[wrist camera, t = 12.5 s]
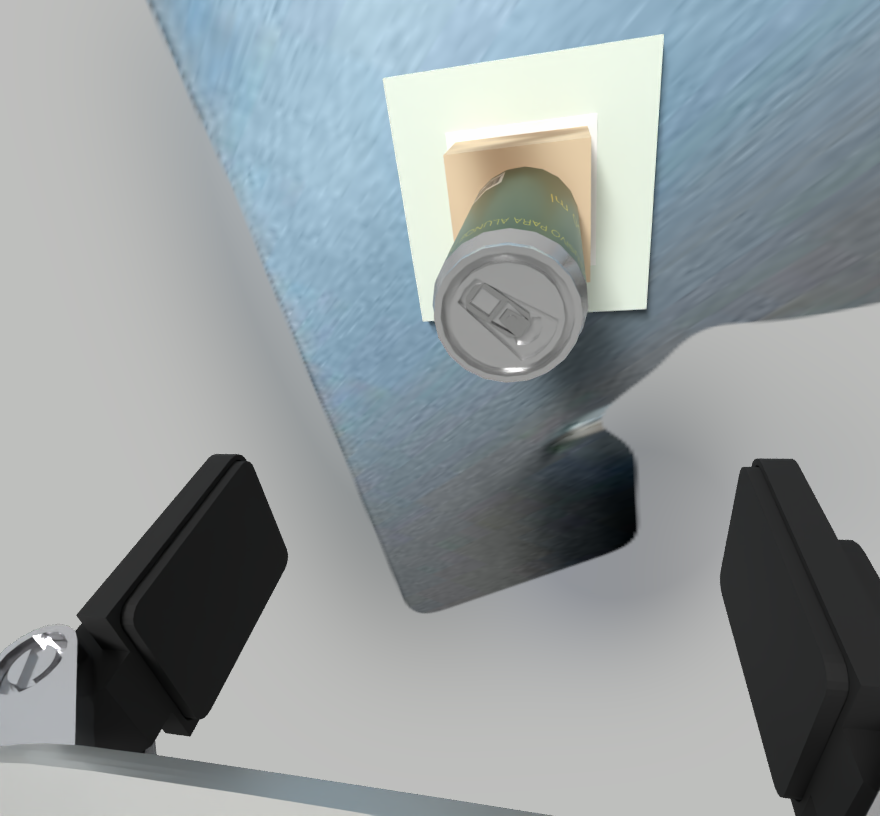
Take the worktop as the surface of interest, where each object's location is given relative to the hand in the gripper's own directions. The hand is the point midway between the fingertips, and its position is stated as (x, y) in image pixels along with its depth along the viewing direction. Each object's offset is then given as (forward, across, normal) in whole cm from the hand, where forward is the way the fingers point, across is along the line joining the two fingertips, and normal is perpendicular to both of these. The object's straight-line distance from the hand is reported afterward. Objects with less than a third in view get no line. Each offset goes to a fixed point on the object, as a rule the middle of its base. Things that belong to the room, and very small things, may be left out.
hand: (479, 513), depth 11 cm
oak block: (+25, +1, 0) cm, 25 cm away
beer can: (+21, 0, 0) cm, 21 cm away
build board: (+26, +1, 0) cm, 26 cm away
